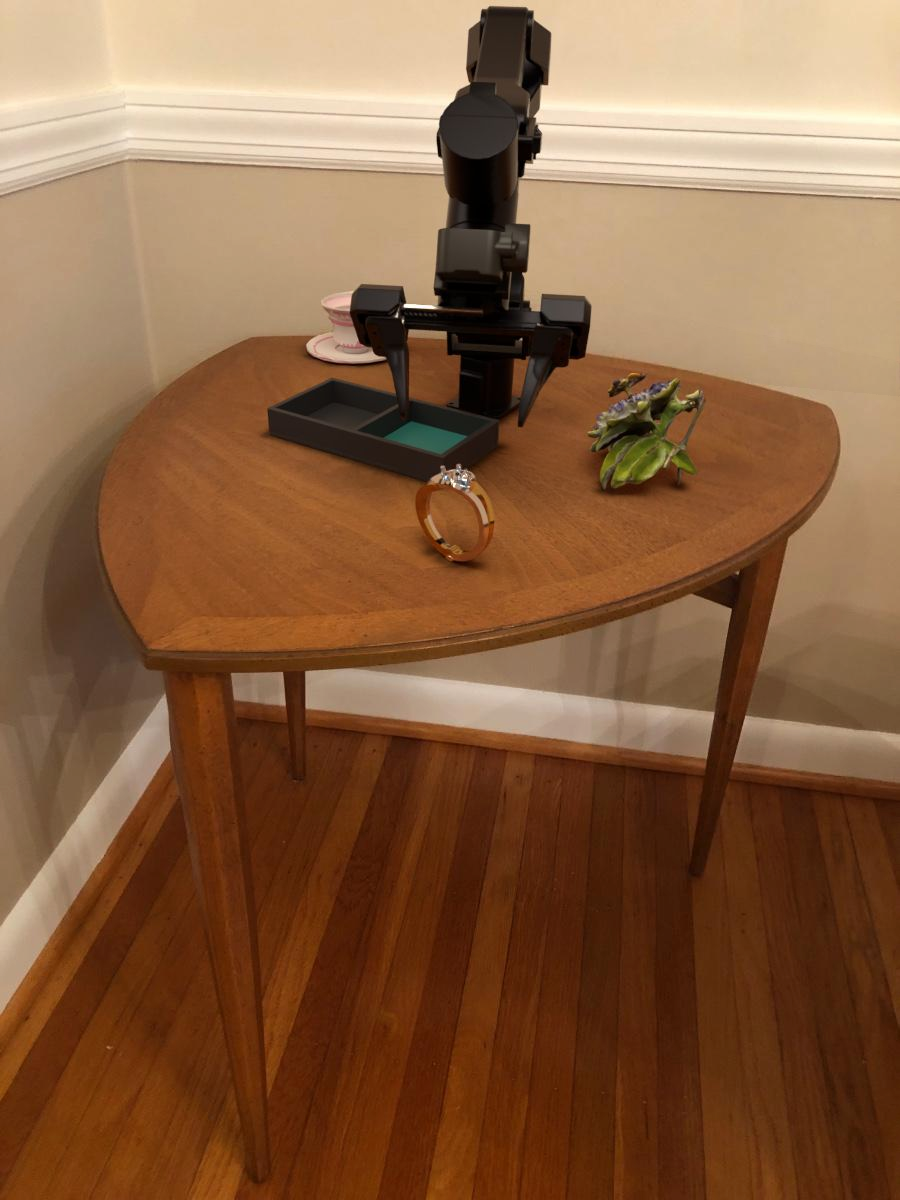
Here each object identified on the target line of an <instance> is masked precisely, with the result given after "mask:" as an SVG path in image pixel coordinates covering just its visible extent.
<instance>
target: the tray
mask: <svg viewBox="0 0 900 1200" xmlns="http://www.w3.org/2000/svg"><path fill="white" fill-rule="evenodd" d="M266 410H267V421H268V423H267V424H268V434H269V436H272V437H276V438H279V439H282V440H286V441H289V442H292V443H296V444H299V445H303V446H306V447H309V448H311V449H312V448H313V449H316V450H319V451H323V452H327V453H329V454H332V455H336V456H339V457H343V458H346V459H349V460H352V461H356V462H360V463H362V464H366V465H371V466H373V467H376V468H379V469H383V470H386V471H390V472H394V473H395V474H400V475H402V476H403V475H404V476H407V477H410V478H413V479H417V480H421V481H423V482H426V483H427V482H428V481H429V480H430V479H431V478H432V477H434V476H435V475H437V474H439V473H441V470H440V467H441V466H445V469H446V471H448V470H454V469H456V465H457V464H461V469H463V470H464V469H465V468H467V469H469V468H471V467H472V466H473V465H475V464H476V463H477V462H479V461H481V460H482V459H483V458H484V457H486V456H488V455H489V454H490V453H492V452H493V451H494V450H496V449H498V448H499V435H500V419H499V420H497V419H493V418H489V417H485V416H481V415H477V414H473V413H469V412H465V411H461V410H458V409H454V408H450V407H447V405H446V406H445V405H442V404H437V403H434V402H430V401H426V400H422V399H418V398H414V397H410V396H409V408H408V413H407V419H406V420H402V419H401V416H400V412H399V407H398V402H397V397H396V392H390V391H386V390H383V389H379V388H375V387H371V386H367V385H364V384H359V383H355V382H351V381H348V380H343V379H340V378H335V377H330V378H328V379H326V380H324V381H322V382H319V383H318V384H317V383H316V385H313V386H311V387H308V388H307V389H305V390H303V391H300V392H298V393H296V394H294V395H292V396H290V397H288V398H286V399H283V400H282V401H280V402H277V403H275V404H273V405H270V406H269V407H267V408H266Z"/></svg>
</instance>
